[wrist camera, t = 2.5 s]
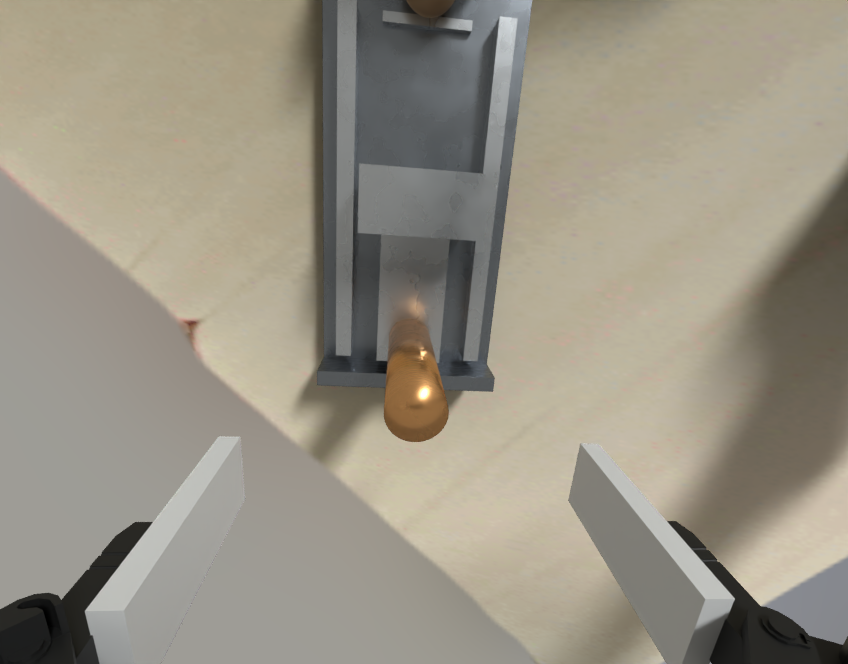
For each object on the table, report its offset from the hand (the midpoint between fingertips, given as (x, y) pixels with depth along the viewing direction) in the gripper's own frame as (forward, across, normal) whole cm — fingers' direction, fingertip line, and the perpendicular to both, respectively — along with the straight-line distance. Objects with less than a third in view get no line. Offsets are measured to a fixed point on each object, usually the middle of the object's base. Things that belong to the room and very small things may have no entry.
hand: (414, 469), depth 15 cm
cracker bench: (+21, 0, +14) cm, 25 cm away
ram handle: (+18, 0, +5) cm, 19 cm away
